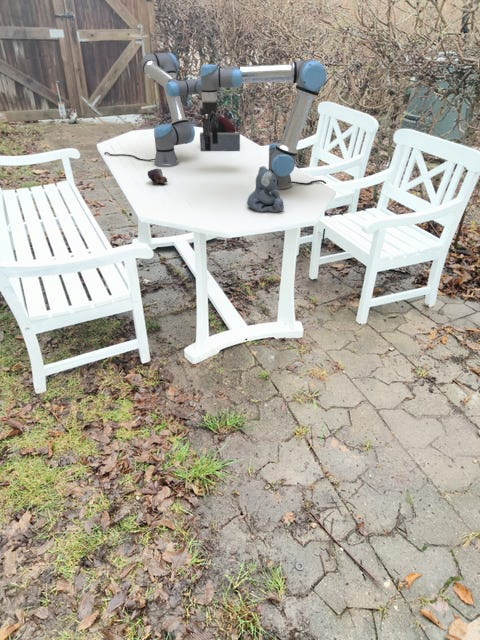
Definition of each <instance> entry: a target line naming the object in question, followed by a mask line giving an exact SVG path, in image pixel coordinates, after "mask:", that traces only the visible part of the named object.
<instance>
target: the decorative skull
mask: <svg viewBox="0 0 480 640" xmlns="http://www.w3.org/2000/svg"><path fill="white" fill-rule="evenodd" d="M200 120H201V122H202V124H203V125H202V130H203V129H204V123H203V118H201V119H200ZM217 121H218V126H219V127H218V128H219V130H217V133H236V127H235V125H234V124H233V122H231V121H230V120H229V119H228V118H227V117H224V116H217ZM212 130H213V129H212V126H211V129H210V133H212Z"/></svg>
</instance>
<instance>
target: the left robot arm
mask: <svg viewBox="0 0 480 640" xmlns="http://www.w3.org/2000/svg"><path fill="white" fill-rule="evenodd" d="M140 69H141V72H142V73H143V75H144V76H145V77H147V78H149V79H152V80H154V81H155V82H156V83H158V84H159V85H160V86H162V87H163V89H164V90H163V91H164V93H165V97H166V103H167V106H168V109H169V113H170V116H171V120H172V121H171V123H161V124H159V125H156V126H155V127H154V129H153V136H154V145H155V155H154V158H149V159H146V158H141V157H137V156H136V155H132V154H125V153H124V154H123V153H118V154H117V153H116V154H115V153H113V154H112V153H110V152H108V151H105V152H104V153H103V154H104V155H106V154H107V155H109V156H114V157H115V156H117V157H118V156H125V157H133V158H135V159H137V160H139V161H145V162H150V161H154V165H155V166H157V167H163V168H164V167H165V168H167V167H168V168H169V167H174V166H177V165H178V164H179V159H178V157H177V153H176V151H175V146H180V145H187V144H190V143H192V142H194V139H195V135H196V132H195V131H196V130H195V127H194V125H193V124H192V123H190V121H189V119H188V118H187V117H186V114H185V111H184V107H183V103H182V99H181V97H183V96H191V95H198V101H199V107H200V108H199V116H200V115H201V116H202V117H203V118H202V119H203V122H202V124H203V123H204V114H206V111H204V110H203V109H202V102H203V101H202V89H201V76H200V77H198V79H197V78H189V79H187V80H185V79H184V80H178V79H177V78H176V77H177V76H178V74H177V73H178V72H179V62H178V59H177V58H176V56H175V54H173V53H172V52H166V51H165V52H156V53H154V52H153V53H148V54H146V55H144V56H143V57H142V59H141V61H140ZM203 139H205V137H204V138H203ZM204 152H211V151H210V150H205V151H204Z"/></svg>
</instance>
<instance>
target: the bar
mask: <svg viewBox="0 0 480 640" xmlns="http://www.w3.org/2000/svg"><path fill="white" fill-rule="evenodd" d="M203 138H204V137H203V132H199V145H200V146H199V147H200V152H206V151H205V139H203ZM210 142H211V150H210V151H209V152H240V151H241V132H235V133H218V144H213V143H212V133H210Z"/></svg>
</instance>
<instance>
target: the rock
mask: <svg viewBox="0 0 480 640" xmlns="http://www.w3.org/2000/svg"><path fill="white" fill-rule="evenodd" d="M147 176H148V179H149V180H150V181H151V183H153V184H156V185H157V184H166V183H168V178H167V177H166V176H164V175H163V171H162V169H161V168H153V169H151V170H148V171H147Z"/></svg>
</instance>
